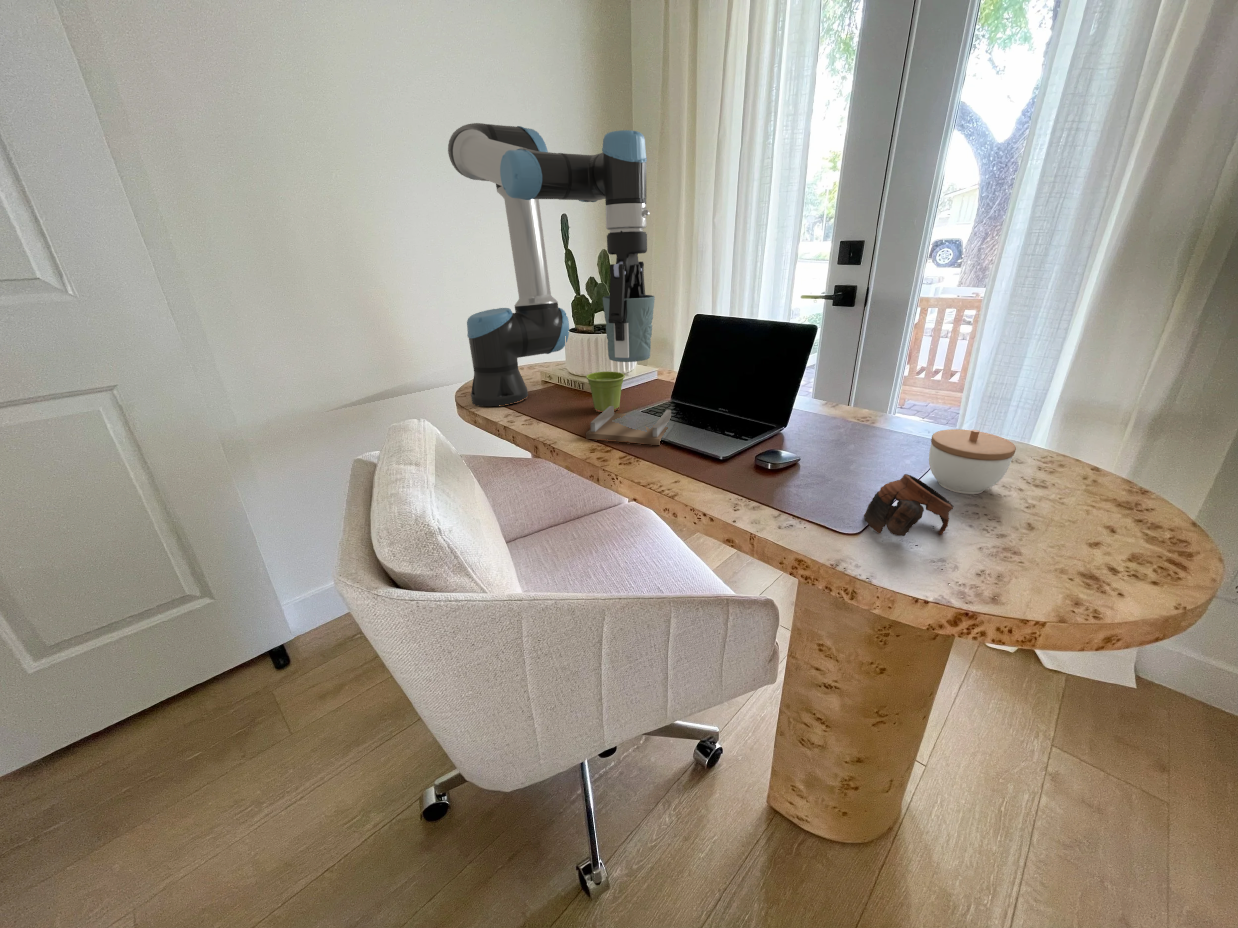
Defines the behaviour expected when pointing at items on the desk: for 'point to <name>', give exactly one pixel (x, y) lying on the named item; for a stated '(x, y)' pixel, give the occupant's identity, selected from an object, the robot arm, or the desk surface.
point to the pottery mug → (905, 506)
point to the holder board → (626, 429)
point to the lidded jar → (969, 459)
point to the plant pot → (605, 389)
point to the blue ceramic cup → (633, 328)
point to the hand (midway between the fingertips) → (630, 352)
